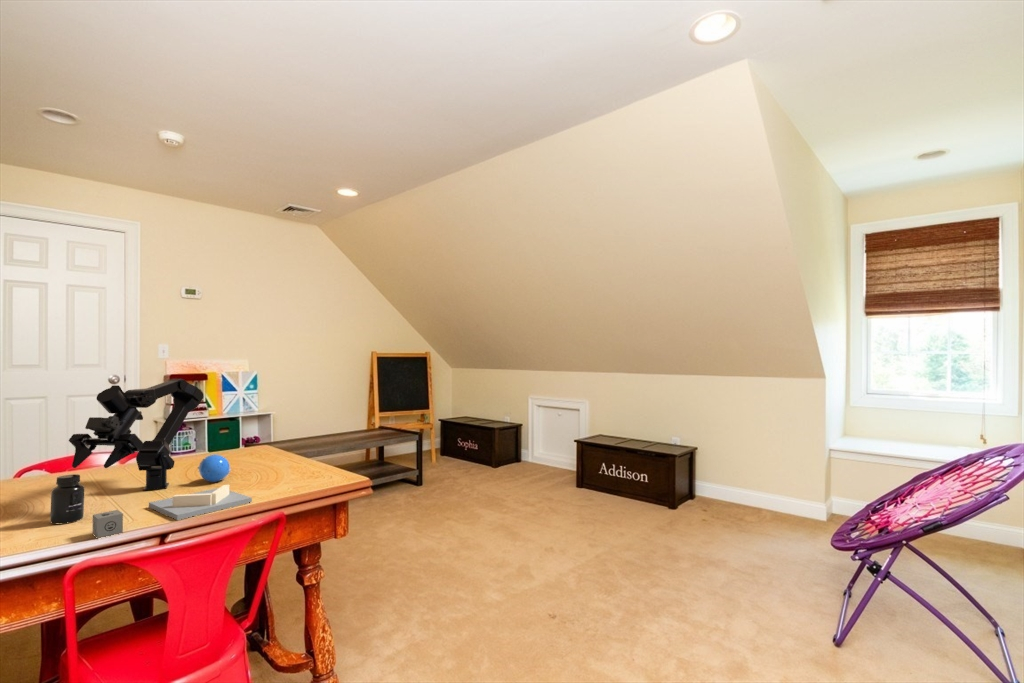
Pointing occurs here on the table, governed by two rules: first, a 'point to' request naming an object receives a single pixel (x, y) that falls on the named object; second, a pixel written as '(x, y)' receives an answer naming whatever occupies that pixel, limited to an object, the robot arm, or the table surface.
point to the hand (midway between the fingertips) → (89, 467)
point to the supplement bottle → (67, 500)
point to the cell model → (214, 468)
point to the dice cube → (107, 523)
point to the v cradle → (199, 502)
